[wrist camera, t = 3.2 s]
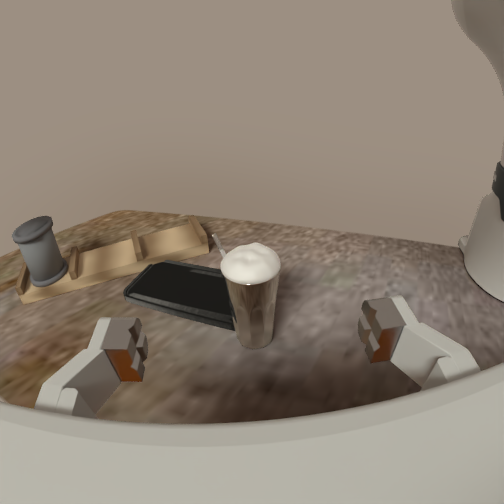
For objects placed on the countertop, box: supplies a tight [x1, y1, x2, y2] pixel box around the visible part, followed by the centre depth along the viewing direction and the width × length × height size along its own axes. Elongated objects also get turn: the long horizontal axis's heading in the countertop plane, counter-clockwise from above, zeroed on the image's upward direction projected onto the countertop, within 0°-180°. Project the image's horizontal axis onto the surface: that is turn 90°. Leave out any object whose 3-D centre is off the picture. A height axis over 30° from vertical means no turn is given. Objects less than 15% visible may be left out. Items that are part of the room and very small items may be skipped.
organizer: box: [15, 215, 209, 305], centre depth 39 cm, size 26×6×3 cm, turn 114°
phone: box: [123, 260, 235, 331], centre depth 34 cm, size 8×1×15 cm
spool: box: [12, 216, 68, 287], centre depth 34 cm, size 6×6×7 cm
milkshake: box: [212, 233, 281, 349], centre depth 26 cm, size 4×5×10 cm
